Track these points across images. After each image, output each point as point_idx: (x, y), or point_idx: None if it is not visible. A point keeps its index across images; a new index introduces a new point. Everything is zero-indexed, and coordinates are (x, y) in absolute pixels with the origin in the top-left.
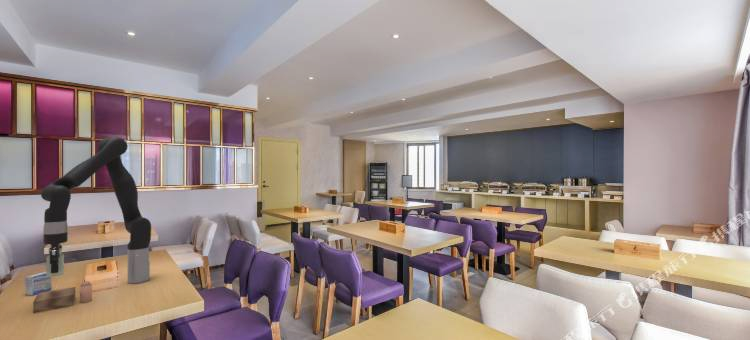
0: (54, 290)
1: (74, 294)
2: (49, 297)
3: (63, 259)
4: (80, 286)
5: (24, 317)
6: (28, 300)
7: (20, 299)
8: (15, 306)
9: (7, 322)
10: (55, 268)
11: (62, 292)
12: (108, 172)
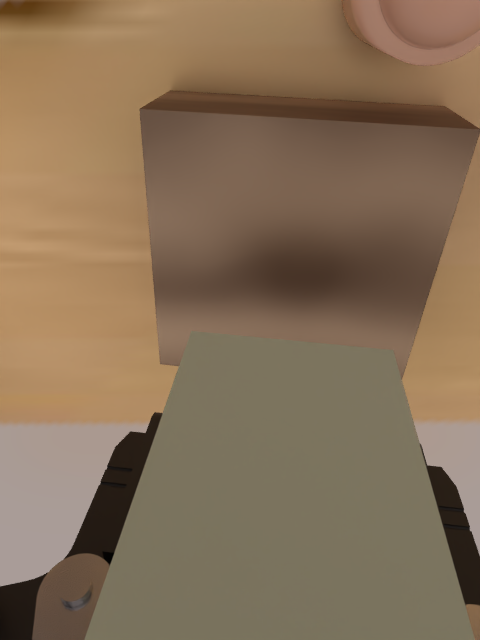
0: (155, 276)
1: (290, 108)
2: (374, 307)
3: (211, 576)
4: (441, 58)
5: (433, 365)
6: (63, 353)
7: (17, 381)
8: (153, 397)
9: (449, 419)
10: (465, 539)
11: (285, 221)
12: None
